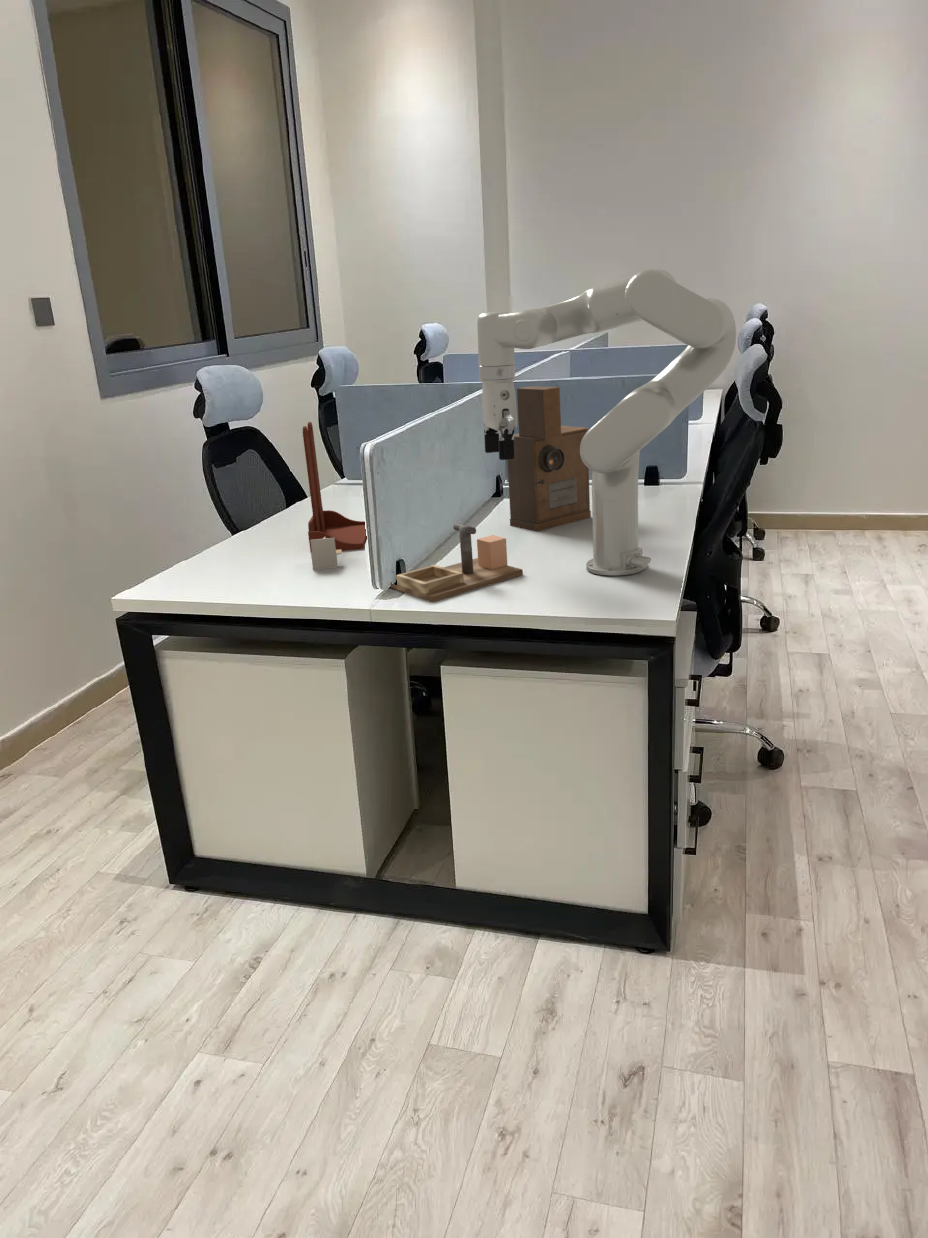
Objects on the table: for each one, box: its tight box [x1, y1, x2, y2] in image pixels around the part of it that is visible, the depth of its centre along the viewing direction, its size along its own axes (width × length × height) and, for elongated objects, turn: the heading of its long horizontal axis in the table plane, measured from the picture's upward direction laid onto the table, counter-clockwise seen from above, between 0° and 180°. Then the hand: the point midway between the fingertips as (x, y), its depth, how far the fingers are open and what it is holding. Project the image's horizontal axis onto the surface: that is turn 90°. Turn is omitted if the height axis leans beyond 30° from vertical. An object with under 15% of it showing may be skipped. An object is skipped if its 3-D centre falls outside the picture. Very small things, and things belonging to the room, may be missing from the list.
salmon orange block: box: [476, 534, 508, 569], centre depth 202 cm, size 4×4×6 cm
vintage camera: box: [506, 385, 592, 533], centre depth 236 cm, size 19×14×35 cm
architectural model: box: [310, 537, 343, 570], centre depth 216 cm, size 3×7×7 cm, turn 98°
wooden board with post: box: [390, 523, 524, 603], centre depth 196 cm, size 15×24×12 cm, turn 128°
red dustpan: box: [302, 421, 368, 553], centre depth 236 cm, size 24×13×30 cm, turn 1°
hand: (499, 455), depth 200 cm, fingers open, 9 cm apart
